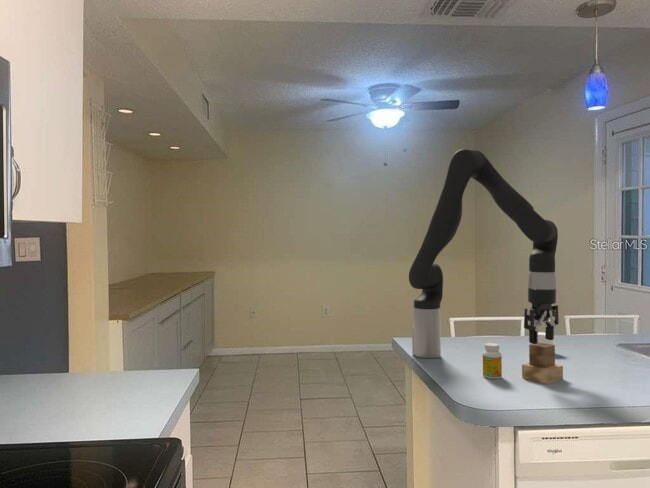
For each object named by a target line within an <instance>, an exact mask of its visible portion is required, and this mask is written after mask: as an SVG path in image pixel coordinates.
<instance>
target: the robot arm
mask: <svg viewBox="0 0 650 488" xmlns="http://www.w3.org/2000/svg"><path fill="white" fill-rule="evenodd" d="M446 173H447V174H446V178H445V180H444V181H445V182H444V184H443V188H442V191H441V193H440V196H439V199H438V202H437V204H436V207H435V209H434V212H433V214H432V217H431V219H430V222H429V224H428V229H427V231H426V233H425V236H424V238H423V241H422V243H421V246H420V249H419V250H418V252H417V254H416V257H415V259H414V260H413V262H412V264H411V267H410V269H409V272H408V282H409V285H410V286H411V287H412V288H413V289H416V290H422V291H421V293H420V295H419V296H418V297H416V298H415V299H414V301H413V317H414V318H413V327H412V329H411V333H412V334H411V335H412V336H411V339H412V340H411V341H412V343H411V345H412V346H411V347H412V349H411V350H412V355H414V356H415V357H416V358H417V357H418V358H422V359H437V358H440V357H441V355H442V354H441V353H442V352H441V351H442V350H441V349H442V348H441V345H442V343H441V338H442V337H441V335H442V334H441V302H442V300H443V294H444V293H443V289H444V273H443V270H442V267H440V265H439V264H438V263H436V261H435V260H436V259H437V257H438V255H440V253H441V252H442V251H443V250H444V249H445V248H447V246H448V245H449V243H450V242H451V241H452V240H453V238H454V237H455V235H456V234H457V231H458V228H459V227H460V226H459V225H460V224H461V221H462V217H463V197H464V193H465V190H466V187H467V185H468V183H469V181H470V179H472V180H475V182H478V183H479V184H481V185H482V186H483V187H484V188H485V189H486V190H487V192H488V193H489V195H490V196H491V197H492V199H493V201H494V202H495V204H496V205H497V206H498V207H499V208H500V210H501V211H502V212H503V213H504V214H506V215H507V217H508V218H510V219H511V221H513V222H514V223H515V224H516V226H517V227H518V229H519V230H520V231H521V232H522V233H523V234H524V236H526V238H527V239H529V240H530V242H532V252H531V253H530V254H529V259H528V277H527V296H528V297H527V302H528V303H530V304H531V308H528V307H525V308H524V315H523V316H524V318H523V321H524V322H523V328H524V329H525V330H528V333H529V334H528V335H529V336H528V339H529V340H528V342H529V344H537V343H538V332H539V331H538V329H539V327H540V326H542V324H543V323H544V325H545V332H546V334H545V338H546V339H547V340H553V341H554V339H555V336H554V335H555V334H554V332H555V328H556V326H557V325H559V323H560V322H559V305H558V304H556V303H557V277H556V252H557V245H558V239H559V235H558V234H559V233H558V227H557V226H556V224H555V223H554V221H551V220H549V219H544V217H542V216H541V215H540V214H539V213H538V212H537V211H536V210H535V209H534V207H533V205H532V204H531V202H529V200H527V199H526V198H525V197H524V196H523V195H522V194H521V193H519V191H517V190H516V189H515V188H514V187H512V185H510V183H508V181H506V180H505V178H504V177H503V176H502V175H501V174H500V173H499V172H498V171H497V169H495V166H493V164H492V163H491V162H490V161H489V158H487V156H486V155H485V154H484V153H483V152H482V151H480V150H478V149H474V148H473V149H471V148H462V149H459V150H457V151H456V152H455V153H454V154H453V155H452V158H451V159H450V162H449V165H448V169H447V172H446Z"/></svg>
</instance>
